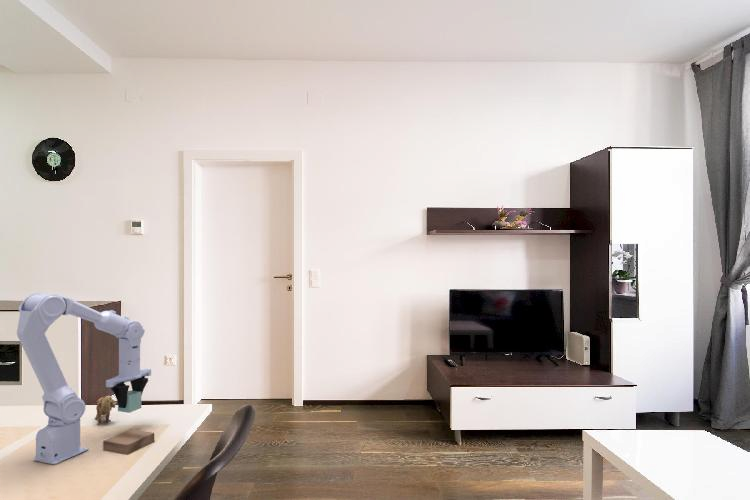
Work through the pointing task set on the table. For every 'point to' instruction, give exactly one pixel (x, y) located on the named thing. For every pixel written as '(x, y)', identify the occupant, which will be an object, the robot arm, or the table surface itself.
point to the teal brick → (132, 402)
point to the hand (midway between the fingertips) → (129, 404)
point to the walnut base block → (128, 441)
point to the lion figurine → (104, 408)
